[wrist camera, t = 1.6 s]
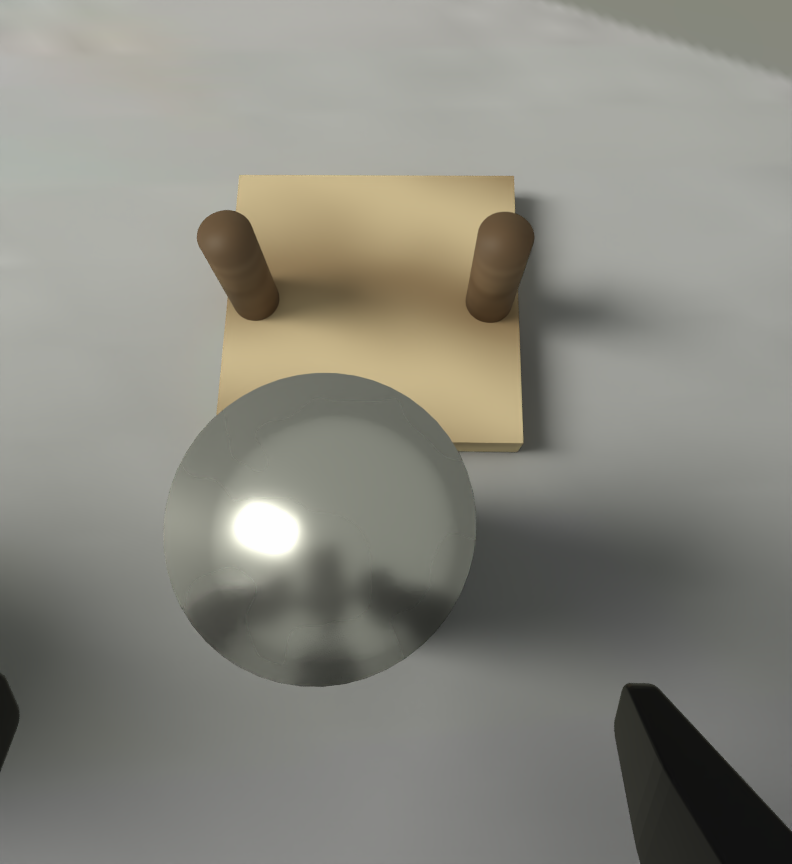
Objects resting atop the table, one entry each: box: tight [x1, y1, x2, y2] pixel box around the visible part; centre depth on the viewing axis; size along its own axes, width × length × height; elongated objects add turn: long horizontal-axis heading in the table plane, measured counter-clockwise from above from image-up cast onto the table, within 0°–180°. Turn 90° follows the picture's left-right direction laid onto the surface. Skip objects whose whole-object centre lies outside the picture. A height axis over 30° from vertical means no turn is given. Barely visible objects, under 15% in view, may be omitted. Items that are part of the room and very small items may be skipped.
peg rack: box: [197, 175, 534, 452], centre depth 21 cm, size 10×10×5 cm
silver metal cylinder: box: [163, 373, 476, 687], centre depth 15 cm, size 5×5×12 cm
